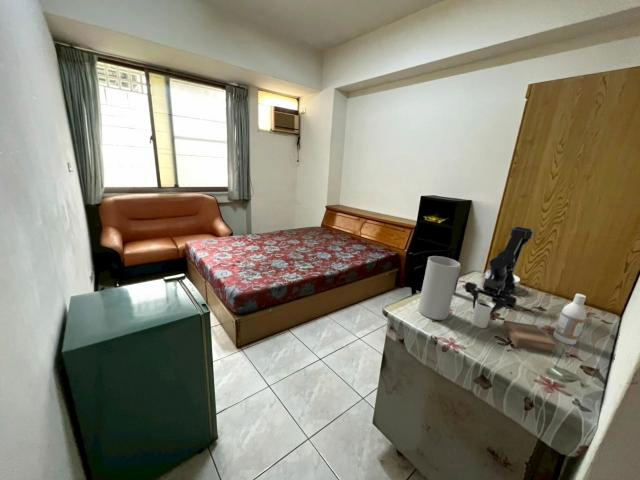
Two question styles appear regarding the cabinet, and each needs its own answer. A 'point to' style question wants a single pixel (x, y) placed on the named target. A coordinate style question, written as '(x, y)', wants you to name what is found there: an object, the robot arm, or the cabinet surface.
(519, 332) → the walnut block
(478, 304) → the white cup
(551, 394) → the cabinet surface
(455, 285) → the container
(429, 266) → the cylinder vase
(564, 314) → the bath foam
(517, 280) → the cereal bowl
